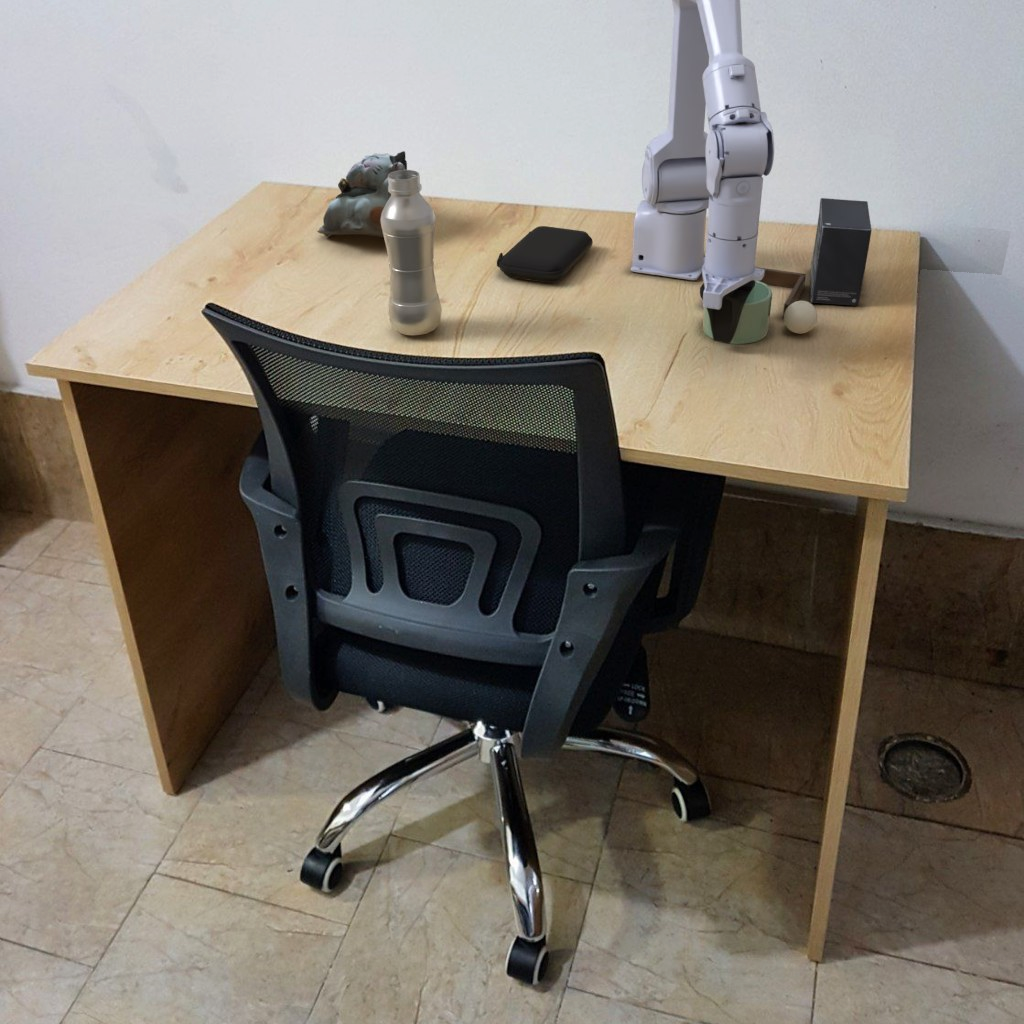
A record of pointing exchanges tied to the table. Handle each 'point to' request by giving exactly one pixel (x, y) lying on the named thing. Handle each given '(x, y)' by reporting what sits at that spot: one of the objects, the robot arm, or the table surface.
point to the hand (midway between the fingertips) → (723, 339)
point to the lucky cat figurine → (362, 196)
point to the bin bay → (785, 283)
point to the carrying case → (545, 254)
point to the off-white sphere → (800, 317)
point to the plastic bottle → (410, 256)
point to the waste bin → (749, 316)
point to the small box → (840, 252)
